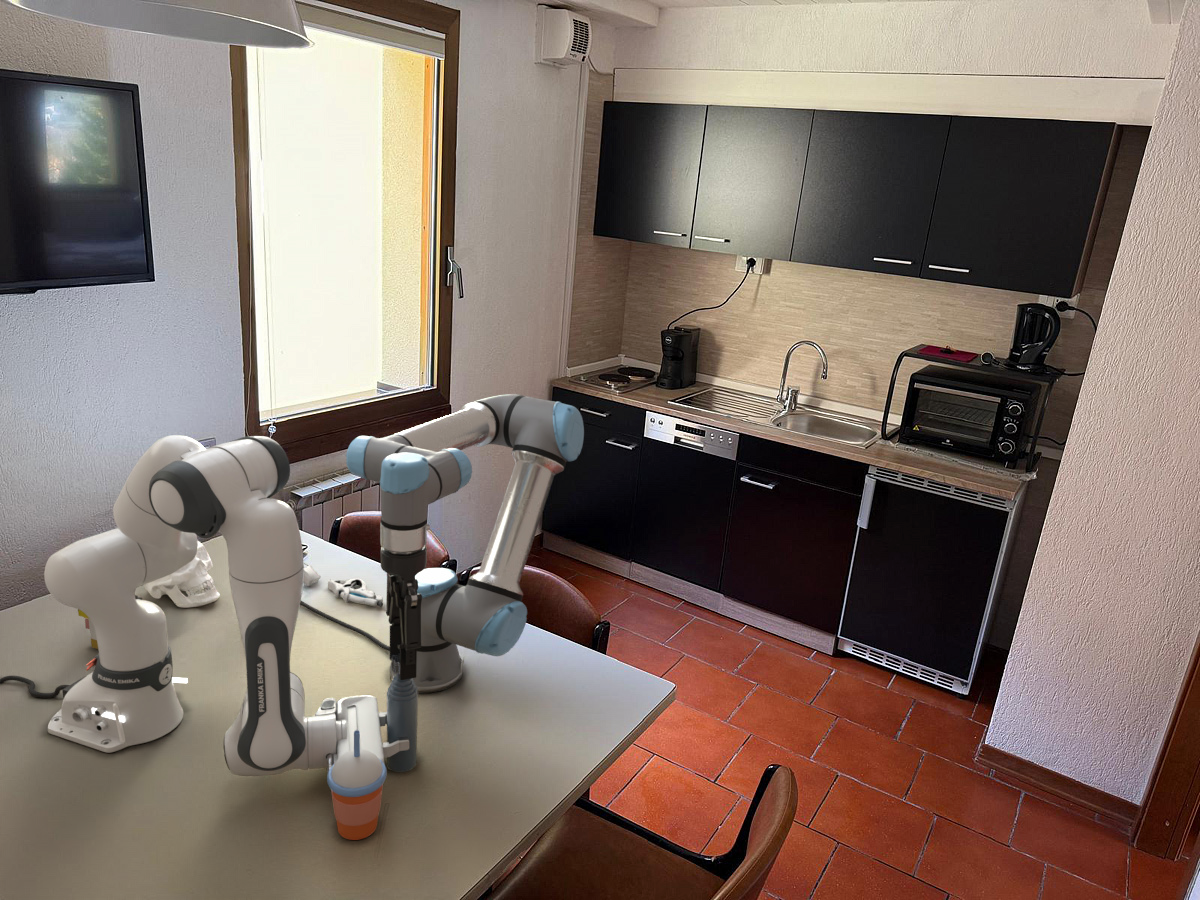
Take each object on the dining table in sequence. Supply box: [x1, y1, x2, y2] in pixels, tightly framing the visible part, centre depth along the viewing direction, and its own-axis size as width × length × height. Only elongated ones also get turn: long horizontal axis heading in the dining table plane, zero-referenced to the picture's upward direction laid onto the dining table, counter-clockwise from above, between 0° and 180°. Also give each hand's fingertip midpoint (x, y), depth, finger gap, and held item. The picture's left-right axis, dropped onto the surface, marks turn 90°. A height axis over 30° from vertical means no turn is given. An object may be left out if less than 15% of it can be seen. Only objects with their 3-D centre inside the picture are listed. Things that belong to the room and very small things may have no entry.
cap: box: [390, 652, 400, 674], centre depth 149 cm, size 4×4×2 cm
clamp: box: [303, 562, 322, 587], centre depth 219 cm, size 20×4×7 cm, turn 62°
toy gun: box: [327, 578, 384, 608], centre depth 212 cm, size 18×2×10 cm
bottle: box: [386, 673, 419, 773], centre depth 152 cm, size 5×5×21 cm
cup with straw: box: [326, 730, 388, 841], centre depth 136 cm, size 9×9×18 cm
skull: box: [142, 540, 221, 609], centre depth 204 cm, size 13×22×16 cm, turn 73°
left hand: (407, 731), depth 153 cm, fingers closed on bottle, 5 cm apart
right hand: (402, 667), depth 149 cm, fingers open, 6 cm apart
